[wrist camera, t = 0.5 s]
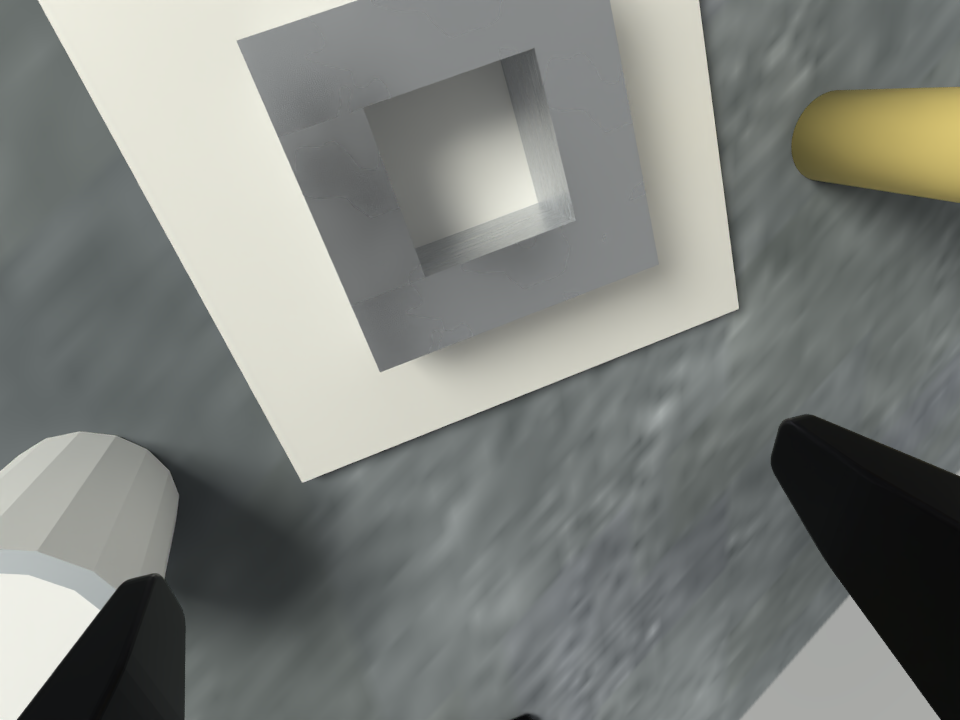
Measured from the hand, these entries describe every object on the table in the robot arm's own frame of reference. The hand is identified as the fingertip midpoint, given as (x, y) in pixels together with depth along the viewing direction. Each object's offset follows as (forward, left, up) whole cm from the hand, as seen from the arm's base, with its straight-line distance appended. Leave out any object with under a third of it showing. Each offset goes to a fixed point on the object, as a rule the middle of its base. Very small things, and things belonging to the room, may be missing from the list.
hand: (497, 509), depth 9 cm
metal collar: (+3, -3, -14) cm, 15 cm away
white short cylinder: (-4, +13, -14) cm, 20 cm away
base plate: (+3, -3, -14) cm, 15 cm away
